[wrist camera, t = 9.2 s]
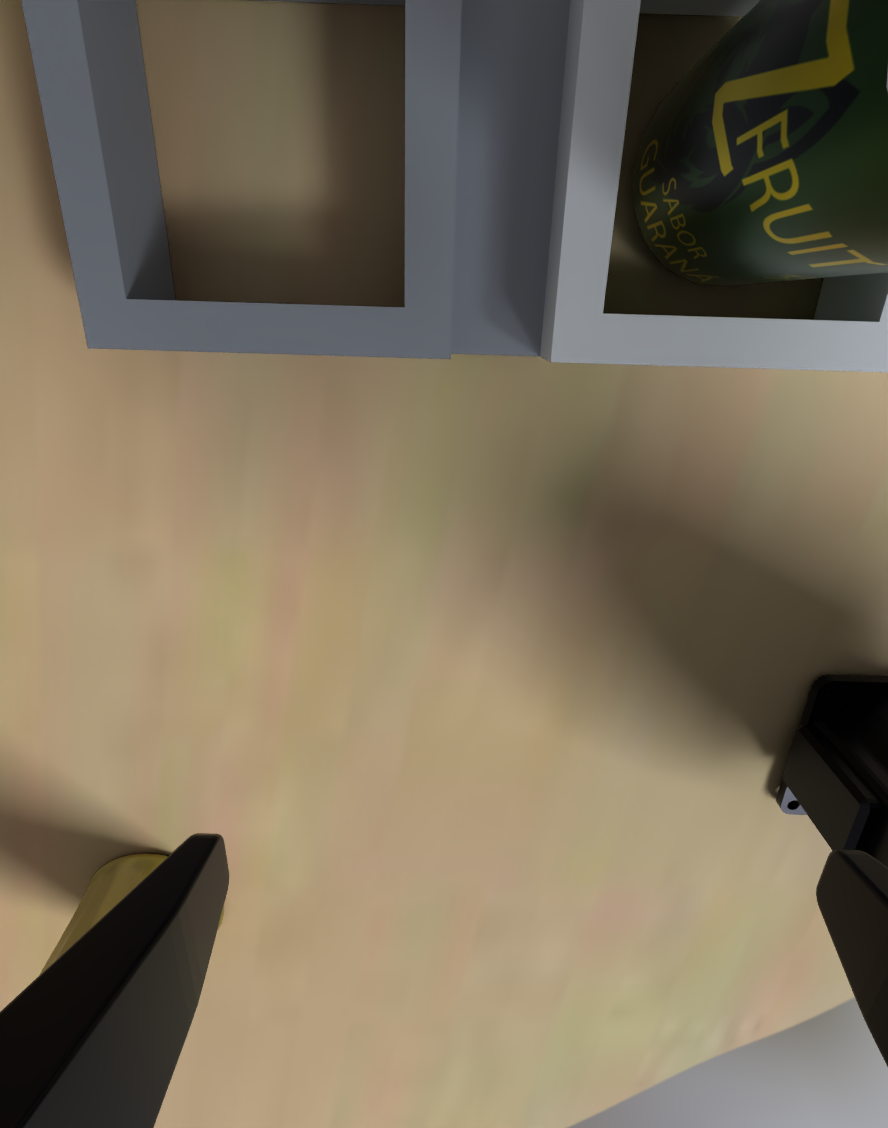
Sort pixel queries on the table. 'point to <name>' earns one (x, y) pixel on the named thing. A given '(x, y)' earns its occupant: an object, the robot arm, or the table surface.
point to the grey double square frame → (424, 201)
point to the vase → (106, 896)
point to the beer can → (774, 150)
